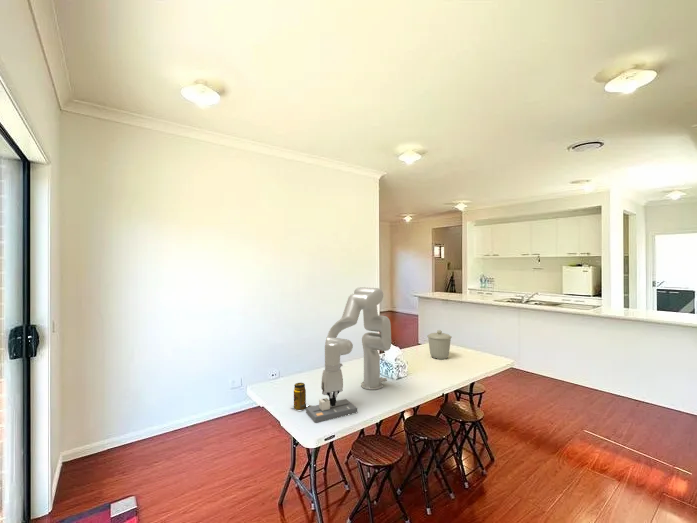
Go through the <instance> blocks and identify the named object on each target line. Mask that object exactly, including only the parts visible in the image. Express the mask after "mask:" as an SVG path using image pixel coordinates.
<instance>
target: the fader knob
mask: <svg viewBox="0 0 697 523" xmlns="http://www.w3.org/2000/svg"><path fill="white" fill-rule="evenodd" d="M318 402H319V404H318V405H319V408H320V409H321V410H322V411H324V410H328V409H330V401H329V398H327V397H326V398H321V399H318Z"/></svg>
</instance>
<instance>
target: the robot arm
mask: <svg viewBox="0 0 697 523" xmlns="http://www.w3.org/2000/svg"><path fill="white" fill-rule="evenodd" d="M383 299H384V292H383V290H382V289H381V288H379V287H365V286H364V287H357V288H355V289H354V290H353V293H352V294H350V295H349V296H348V298H347V300H346V303H345V306H344V310H343V313H342V316H341V317H340V319H339V320H337V321H336V322H335V323H334V324H333V325H332V326H331V327H330V328H329V331H328V333H327V336H326V340H325V344H324V369H323V371H322V375H321V387H320V388H321V390H322V391H321V394H322V395H323V396H328V400H329V401H330V405H331V406H335V403H336V401H337V397H338V396H339V393H342V392H343V389H344V378H343V372H342V367H343V363H341V356H346V355H350V354H351V352H352V351H353V347H354V346H353V345H354V344H353V342H352V341H351V340H349V339H345V338H340V337H338V335H339V334H340V332H342V331H343V330H345V329H349V328H351V327H353V326H355V325H357V323H358V321H359V316H360V314H361V310H362V315H363V316H362V317H363V327H364V329H365V330H366V331H369V332H366V333H364V334H363V335H362V338H361V343H362V344H361V345H362V349H363V351H362V352H363V382H361V383H360V386H361V388H363V389H365V390H369V391H370V390H372V391H374V390H375V391H376V390H380V389H382V388H383V382H387V381H388V379H387V377H381V372H380V370H381V361H380V360H381V357H380V353H379V351H382V352H387V351H389V350H390V349H391V346H392V329H391V328H392V324H391V320H390V318H389V317H388V316H386V315H379V314H378V305H379V304H381V303H382V301H383Z"/></svg>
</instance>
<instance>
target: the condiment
mask: <svg viewBox="0 0 697 523" xmlns="http://www.w3.org/2000/svg"><path fill="white" fill-rule="evenodd" d="M306 390H307V389H306V385H305V382H297V383H295V384H294V389H293V407H294V409H296V410H295V411H297V410H303V411H305V410H306V404H307V403H306V402H307V400H306V398H307V395H306V394H307V391H306ZM308 405H309V406H308V407H311V406H312V405H311V404H308ZM294 409H293V410H294ZM304 409H305V410H304ZM298 412H301V411H298Z"/></svg>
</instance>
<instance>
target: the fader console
mask: <svg viewBox="0 0 697 523" xmlns="http://www.w3.org/2000/svg"><path fill="white" fill-rule="evenodd" d="M356 412H357V413H358V407H357V406H356V405H354V404H353V403H352V402H351V401H349V399H346V398H344V399H340V400H336V403H335V406H331V405H330V409H328V410H324V411H322V410H321V409H320V408H319V404H315V405H311V407H306V409H305V413H306V415H307V416H308V417H309V418H310V420H312V421H313V422H314V423H315V424H317V423H321V422H325V420H326V421H330V420H334V419H338V418H341V416H342V417H346V416H349V415H348V414H350V415H353V414H352V413H355V414H357V413H356ZM345 415H346V416H345ZM337 417H338V418H337ZM333 418H334V419H333ZM329 419H330V420H329Z"/></svg>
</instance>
